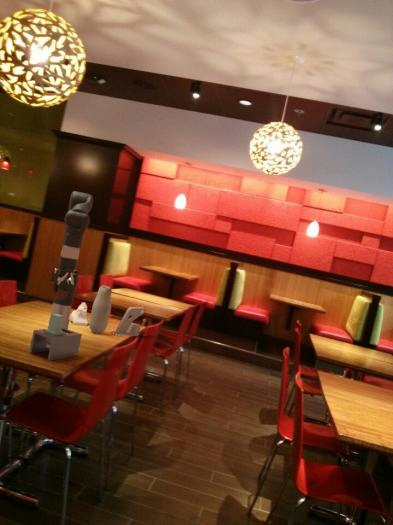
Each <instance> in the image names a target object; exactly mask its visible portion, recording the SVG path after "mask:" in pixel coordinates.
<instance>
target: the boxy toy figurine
mask: <svg viewBox="0 0 393 525" xmlns="http://www.w3.org/2000/svg"><path fill="white" fill-rule="evenodd" d="M50 316H51V317H49V320H50V321H48V325H49V326H48V325H47V328H43V329H44V332H47V333H50V334H53V335H60V334H64V332H63V331H61V329H62V324H63V319H64V316H63V315H60V314H51V313H50ZM51 342H52V340H51V339H50V342H47V343H46V347H47V348H50V346H51Z"/></svg>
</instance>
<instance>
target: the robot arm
mask: <svg viewBox="0 0 393 525" xmlns="http://www.w3.org/2000/svg"><path fill="white" fill-rule="evenodd" d="M69 198H70V199H69V203H68V210H67V212H66V214H65V215H64V224H65V225H66V226H65V230H64V233H63V234H64V235H63V238H62V239H63V240H62V244H61V245H62V246H61V252H60V256H59V261H58V266H57V268H53V271H52V273H51V274H52V275H51V279H50V282H51V283H53V288H52V293H54V294H58V293H59V291H62V292H66V294H65V295H64V294H63V295H60V296H55V297H54V298H53V302H52V307H51V312H50V317H51V314H60V315H63V316H64V319H63V324H62V328H65V329H68V330H69V325H70V315H71V310H72V306H73V301H74V297H75V293H76V289H77V286H78V281H79V279H78V277H79V270H76V269H77V265H78V261H79V256H80V251H81V249H82V245H83V237H84V234H85V232H86V230H87V229H88V226H89V225H90V222H91V218H90V216H89V213H90V212H91V210H92V208H93V203H94V198H93V195H91V194H89V193H87V192H86V193H85V192H81V191H76V190H74V191H72V192H71V194H70V197H69ZM50 317H49V318H50ZM49 321H50V319H49ZM49 321H48V322H49ZM48 326H49V324H48V325H47V327H48ZM64 334H68V333H65V332H64Z"/></svg>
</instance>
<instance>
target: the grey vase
mask: <svg viewBox="0 0 393 525" xmlns="http://www.w3.org/2000/svg"><path fill="white" fill-rule="evenodd" d="M91 308H92V309H91V314H90V318H89V323H88V326H89V329H90V331H91V332H92V333H94V334H102V333H104V332H106V330H107V327H108V325H109V324H108V323H109V321H110V320H109V319H110V314H111V310H112V288H111V287H110V286H109V285H105V284H103V285H100V287H99V289H98V291H97V295H96V297H95V299H94V302H93V303H92V307H91Z"/></svg>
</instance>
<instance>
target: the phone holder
mask: <svg viewBox="0 0 393 525" xmlns="http://www.w3.org/2000/svg"><path fill="white" fill-rule="evenodd" d="M145 311H146V308H145V307H144V306H129V307H128V308H127V309H126V311H125V313H124V314H123V316H122V318H121V320H120V322H119V323H118V325H117V327H116V329H115V330H114V331H113V330H112V331H110V333H111V334H113V333H114V334H113V335H115V334H117V335H116V336H118V335H120V336H119V337H122V336H130V337H137V336H138V337H139V336H140V330H141V325H140V324H138V323H134V322H133V321H135V320H136V319H137V318H139V317H141V316H142V315H143V314H145ZM130 316H131V317H130Z"/></svg>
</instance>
